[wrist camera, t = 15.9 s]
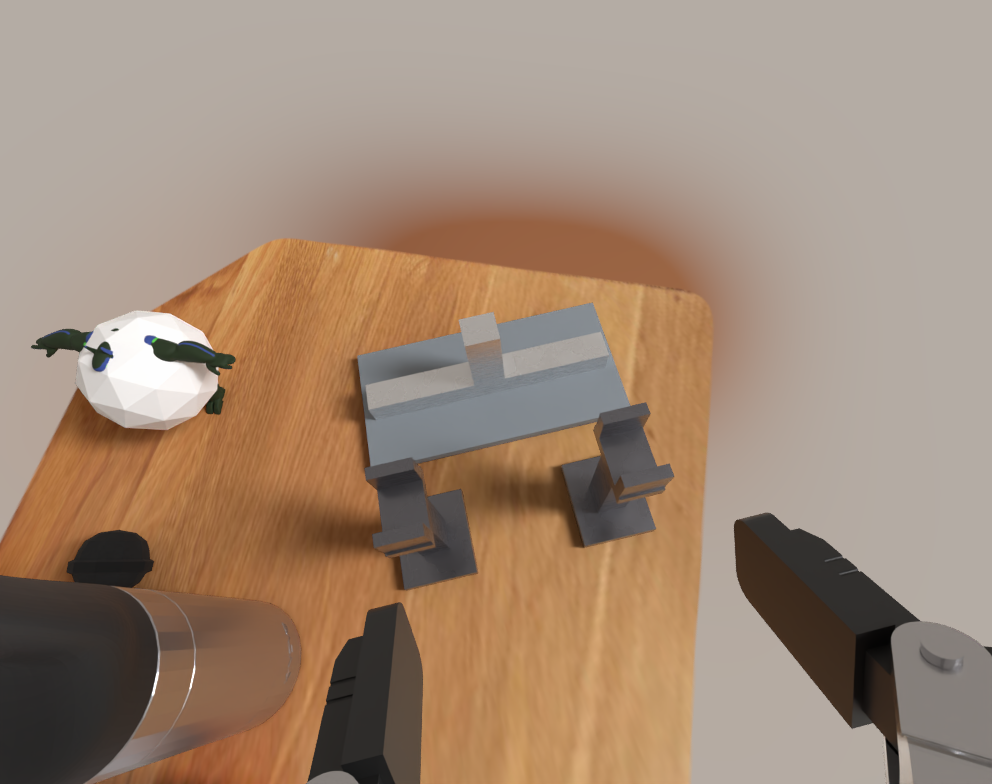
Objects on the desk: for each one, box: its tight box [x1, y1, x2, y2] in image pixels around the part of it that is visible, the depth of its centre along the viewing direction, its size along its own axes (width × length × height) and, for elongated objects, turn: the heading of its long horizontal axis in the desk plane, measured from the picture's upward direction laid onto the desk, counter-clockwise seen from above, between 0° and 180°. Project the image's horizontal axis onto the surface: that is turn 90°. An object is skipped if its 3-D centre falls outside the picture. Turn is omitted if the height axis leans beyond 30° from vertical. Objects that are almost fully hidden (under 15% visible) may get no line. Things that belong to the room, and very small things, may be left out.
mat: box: [357, 303, 630, 466], centre depth 49 cm, size 24×12×1 cm, turn 103°
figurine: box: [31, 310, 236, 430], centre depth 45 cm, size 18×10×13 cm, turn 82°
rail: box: [366, 312, 609, 420], centre depth 44 cm, size 22×2×10 cm, turn 102°
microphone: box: [67, 530, 154, 588], centre depth 40 cm, size 6×6×20 cm
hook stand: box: [365, 403, 674, 590], centre depth 38 cm, size 21×7×14 cm, turn 103°
